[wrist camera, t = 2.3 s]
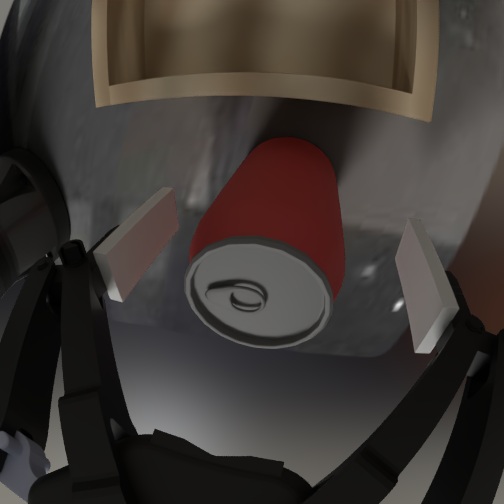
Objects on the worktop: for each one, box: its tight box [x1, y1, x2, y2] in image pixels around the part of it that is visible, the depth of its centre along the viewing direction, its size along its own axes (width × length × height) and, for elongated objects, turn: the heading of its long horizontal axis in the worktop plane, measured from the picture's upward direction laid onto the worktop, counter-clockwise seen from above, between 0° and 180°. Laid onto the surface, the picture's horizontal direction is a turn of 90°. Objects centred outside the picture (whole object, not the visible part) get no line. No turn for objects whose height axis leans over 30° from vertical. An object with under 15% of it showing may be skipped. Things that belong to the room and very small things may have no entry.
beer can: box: [184, 137, 345, 349], centre depth 15 cm, size 7×7×12 cm
